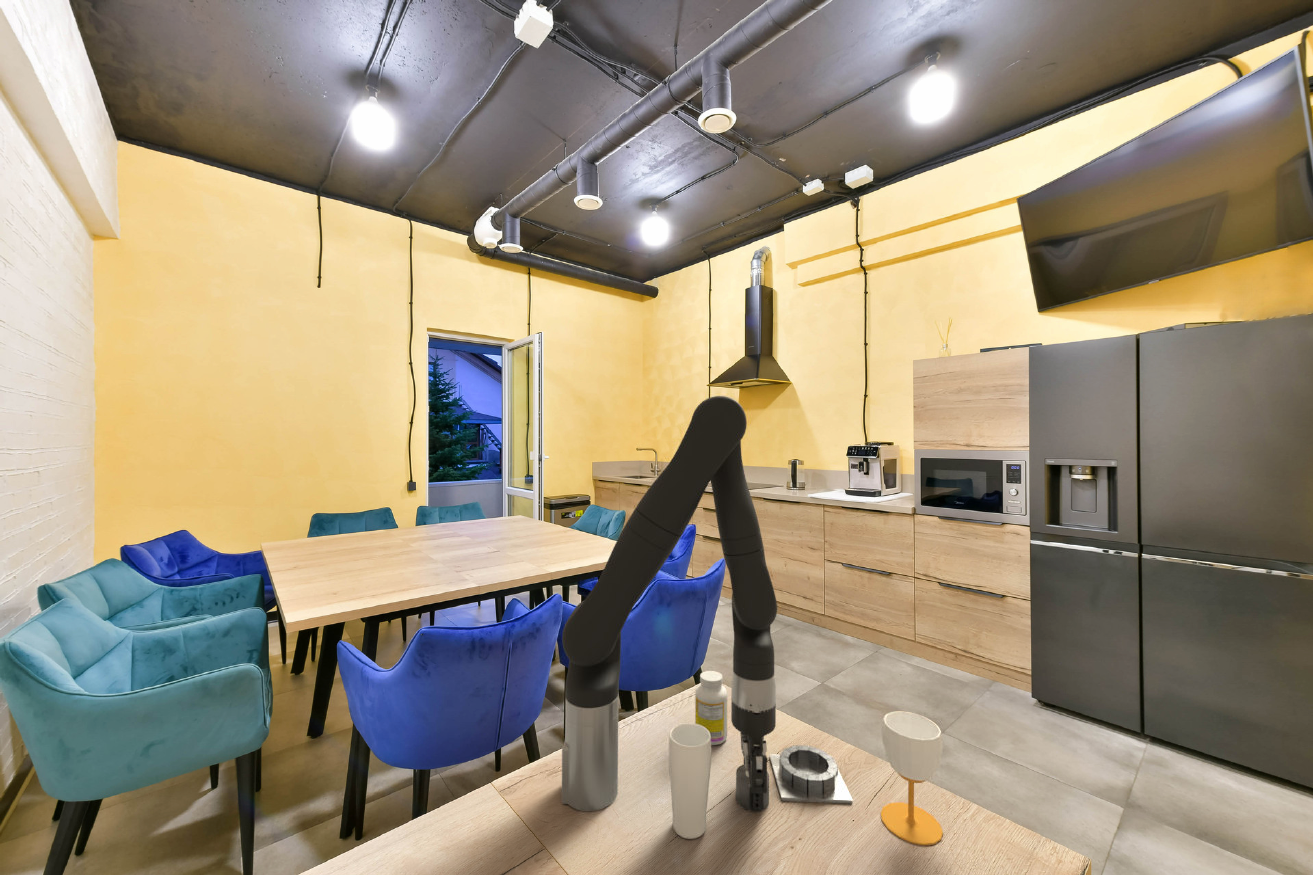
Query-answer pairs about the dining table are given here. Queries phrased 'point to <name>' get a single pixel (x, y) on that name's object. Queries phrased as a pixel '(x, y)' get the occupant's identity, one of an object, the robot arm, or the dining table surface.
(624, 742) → the dining table surface
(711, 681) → the supplement bottle
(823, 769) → the segmented ring on plate
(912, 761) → the cup
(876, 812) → the dining table surface
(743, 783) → the cap
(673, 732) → the drinking glass
